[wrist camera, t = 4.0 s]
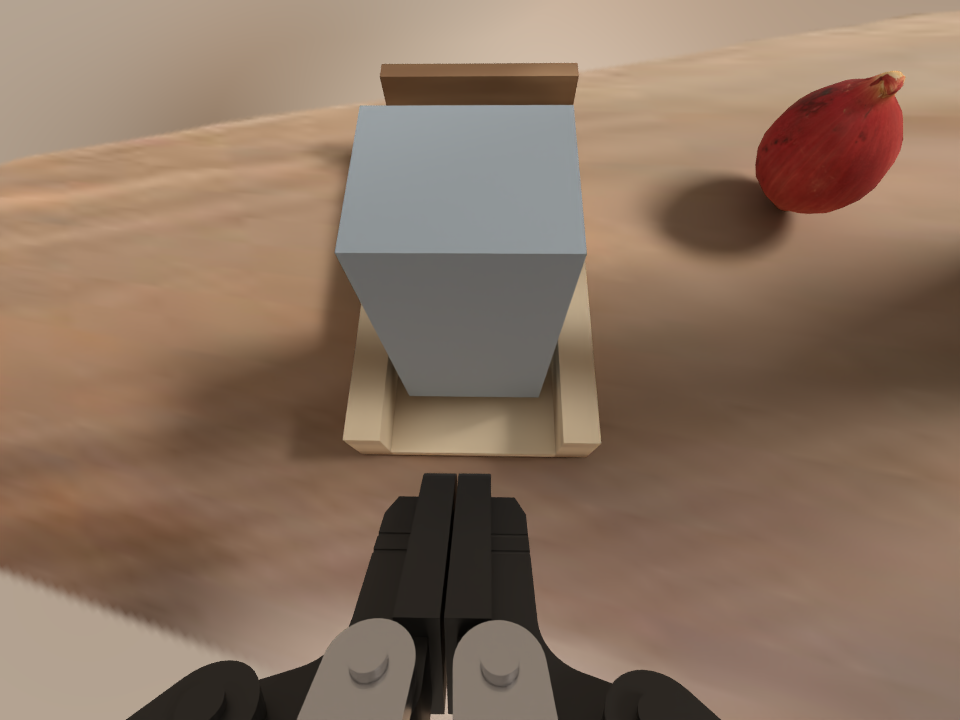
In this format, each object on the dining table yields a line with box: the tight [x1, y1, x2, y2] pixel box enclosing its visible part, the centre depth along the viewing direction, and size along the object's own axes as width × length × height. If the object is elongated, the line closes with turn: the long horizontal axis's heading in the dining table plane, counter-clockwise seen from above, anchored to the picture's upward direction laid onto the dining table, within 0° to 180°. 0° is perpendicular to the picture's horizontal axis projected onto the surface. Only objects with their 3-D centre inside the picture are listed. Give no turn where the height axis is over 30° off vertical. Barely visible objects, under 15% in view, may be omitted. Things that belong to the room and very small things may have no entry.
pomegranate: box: [755, 71, 905, 214], centre depth 23 cm, size 6×6×8 cm
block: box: [335, 105, 587, 397], centre depth 17 cm, size 5×6×11 cm
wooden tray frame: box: [343, 63, 601, 457], centre depth 22 cm, size 20×10×5 cm, turn 179°
